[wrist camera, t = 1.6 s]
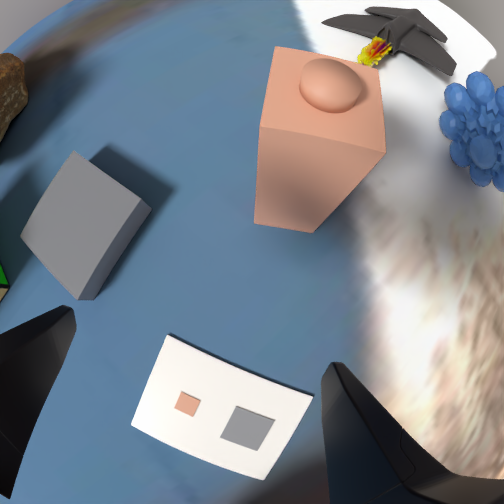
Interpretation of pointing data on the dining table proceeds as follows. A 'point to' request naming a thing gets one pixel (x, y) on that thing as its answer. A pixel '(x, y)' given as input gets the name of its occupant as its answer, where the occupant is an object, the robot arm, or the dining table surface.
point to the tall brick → (315, 137)
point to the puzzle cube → (3, 283)
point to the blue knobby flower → (476, 128)
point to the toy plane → (397, 36)
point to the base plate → (83, 226)
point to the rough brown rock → (11, 89)
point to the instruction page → (218, 410)
